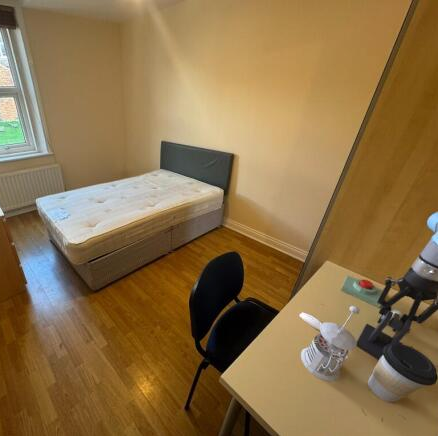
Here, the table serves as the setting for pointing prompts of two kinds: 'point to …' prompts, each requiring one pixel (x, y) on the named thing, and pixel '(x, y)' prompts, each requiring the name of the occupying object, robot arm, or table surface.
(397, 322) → the lever switch
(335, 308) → the table surface
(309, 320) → the white rounded bar
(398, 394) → the coffee cup
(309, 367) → the french press
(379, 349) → the black lever stand
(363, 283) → the power button
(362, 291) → the button block
